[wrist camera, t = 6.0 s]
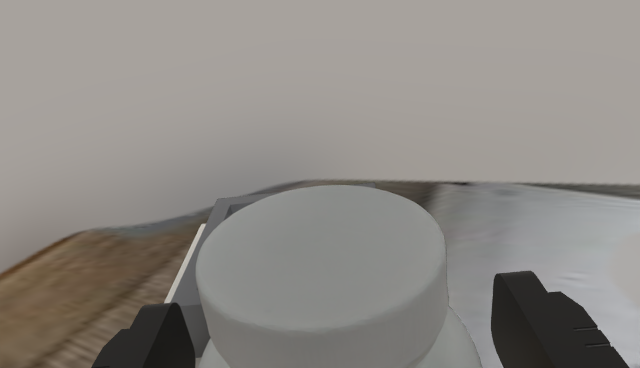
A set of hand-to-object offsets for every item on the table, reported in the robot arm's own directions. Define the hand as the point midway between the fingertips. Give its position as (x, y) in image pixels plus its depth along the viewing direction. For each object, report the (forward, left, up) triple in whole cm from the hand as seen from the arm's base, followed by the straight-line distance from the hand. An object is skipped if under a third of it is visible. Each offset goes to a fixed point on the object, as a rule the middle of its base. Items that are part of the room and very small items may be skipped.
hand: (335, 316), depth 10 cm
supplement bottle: (0, +2, -6) cm, 7 cm away
